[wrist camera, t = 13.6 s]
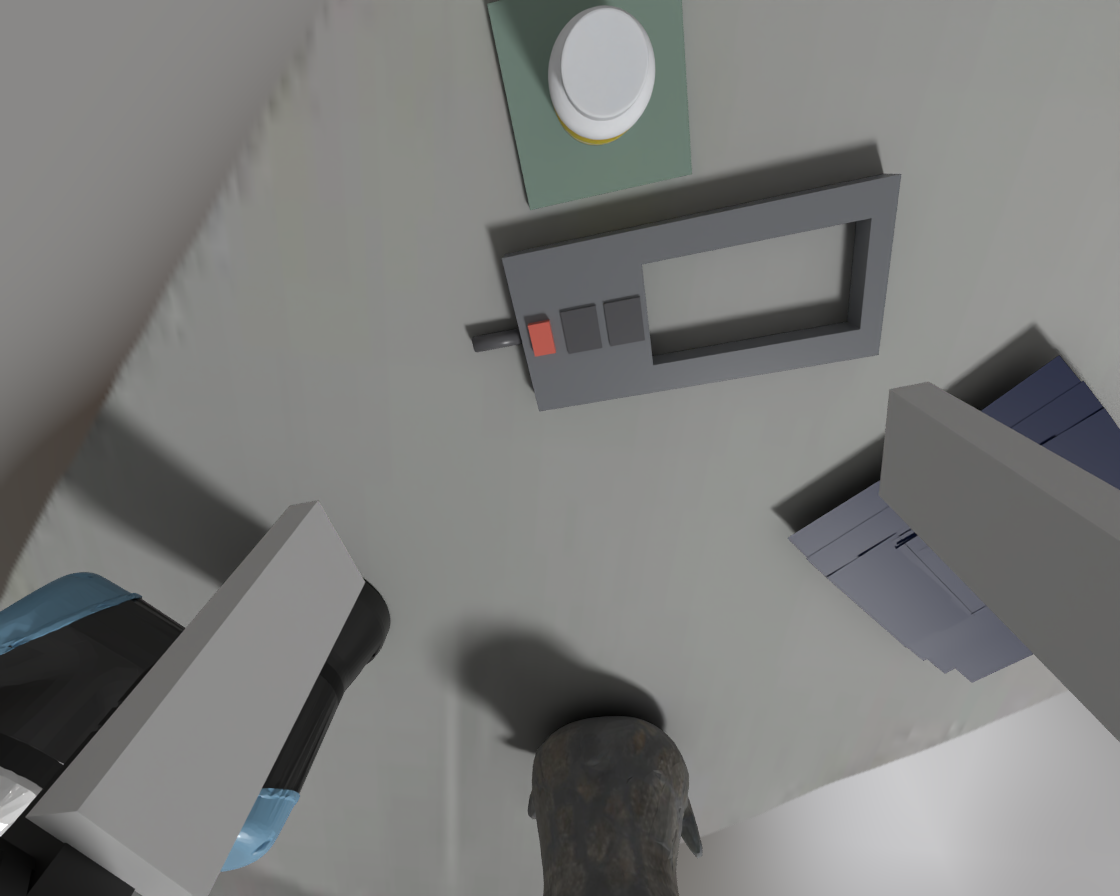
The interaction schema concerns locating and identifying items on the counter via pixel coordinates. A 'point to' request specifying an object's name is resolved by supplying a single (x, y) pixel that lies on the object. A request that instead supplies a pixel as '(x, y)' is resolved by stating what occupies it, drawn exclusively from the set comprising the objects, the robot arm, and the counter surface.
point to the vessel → (611, 809)
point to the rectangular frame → (621, 313)
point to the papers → (915, 569)
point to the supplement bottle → (601, 74)
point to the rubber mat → (543, 145)
